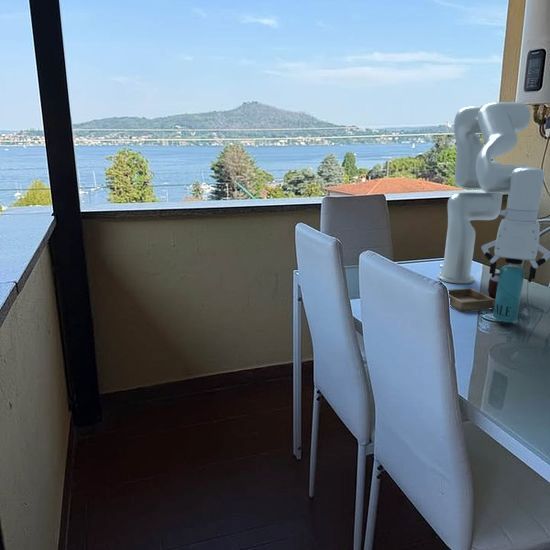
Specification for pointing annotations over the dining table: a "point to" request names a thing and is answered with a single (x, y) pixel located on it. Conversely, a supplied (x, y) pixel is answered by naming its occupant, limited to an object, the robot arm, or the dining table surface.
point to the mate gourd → (493, 285)
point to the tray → (469, 300)
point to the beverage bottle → (508, 291)
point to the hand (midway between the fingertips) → (511, 278)
